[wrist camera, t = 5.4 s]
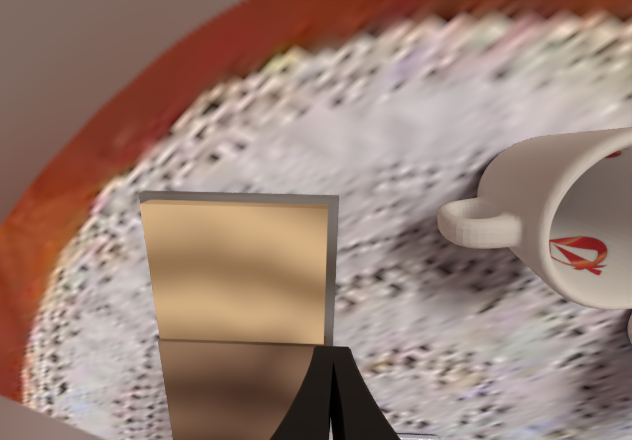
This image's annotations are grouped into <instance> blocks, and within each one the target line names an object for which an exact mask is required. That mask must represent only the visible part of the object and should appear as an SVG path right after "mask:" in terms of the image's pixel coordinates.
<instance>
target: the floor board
mask: <svg viewBox="0 0 632 440" xmlns="http://www.w3.org/2000/svg"><path fill="white" fill-rule="evenodd" d="M139 199H140V204H141V203H143V202H146V201H148V200H186V201H224V202H263V203H301V204H328V223H327V255H326V286H325V317H324V344H301V343H274V342H246V341H218V340H190V339H162V338H160V339H159V341H158V345H159V351H160V358H161V364H162V370H163V377H164V383H165V390H166V396H167V402H168V409H169V415H170V422H171V428H172V434H173V440H270V438H271V437H272V435H273V434H274V432H275V431H276V429H277V428H278V426H279V425H280V423H281V422H282V420H283V418H284V417H285V415H286V413H287V412H288V410H289V408H290V406H291V404H292V402H293V400H294V399H295V397H296V395H297V393H298V391H299V389H300V387H301V384H302V382H303V380H304V378H305V375H306V373H307V370H308V368H309V365H310V362H311V359H312V355H313V350H314V348H315V347H316V346H333V327H334V303H335V279H336V256H337V232H338V209H339V196H336V195H297V194H258V193H219V192H179V191H143V192H140V193H139Z"/></svg>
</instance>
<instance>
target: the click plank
mask: <svg viewBox="0 0 632 440" xmlns="http://www.w3.org/2000/svg"><path fill="white" fill-rule="evenodd" d="M140 209H141V215H142V222H143V229H144V235H145V242H146V249H147V256H148V262H149V269H150V276H151V282H152V289H153V296H154V303H155V309H156V316H157V323H158V329H159V336H160V338H162V339H190V340H218V341H246V342H274V343H301V344H324V317H325V286H326V255H327V223H328V204H301V203H263V202H224V201H186V200H148V201H146V202H143V203H141V204H140Z"/></svg>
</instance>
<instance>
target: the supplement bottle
mask: <svg viewBox="0 0 632 440" xmlns="http://www.w3.org/2000/svg"><path fill="white" fill-rule="evenodd" d="M628 336H629V339H630V342H631V343H632V314H631V316H630V319H629V322H628Z"/></svg>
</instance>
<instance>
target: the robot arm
mask: <svg viewBox="0 0 632 440" xmlns="http://www.w3.org/2000/svg"><path fill="white" fill-rule="evenodd" d="M330 419H331V424H332V434H333V440H440V438H439V437H438V436H431V435H407V434H396V432H395V431H394V430H393V428H392V427H391V425H390V424H389V422H388V421H387V419H386V418H385V416H384V415H383V413H382V412H381V410H380V408H379V407H378V405H377V404H376V402H375V400H374V399H373V397H372V395H371V393H370V391H369V390H368V388H367V386H366V384H365V382H364V380H363V378H362V376H361V374H360V372H359V370H358V368H357V365H356V363H355V361H354V358H353V355H352V352H351V349H350V348H349V347H339V346H316V347H315V348H314V350H313V355H312V359H311V362H310V365H309V368H308V370H307V373H306V375H305V378H304V380H303V382H302V384H301V387H300V389H299V391H298V393H297V395H296V397H295V399H294V400H293V402H292V404H291V406H290V408H289V410H288V412H287V413H286V415H285V417H284V418H283V420H282V422H281V423H280V425H279V426H278V428H277V429H276V431H275V432H274V434H273V435H272V437H271V438H270V440H329V432H330Z"/></svg>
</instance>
